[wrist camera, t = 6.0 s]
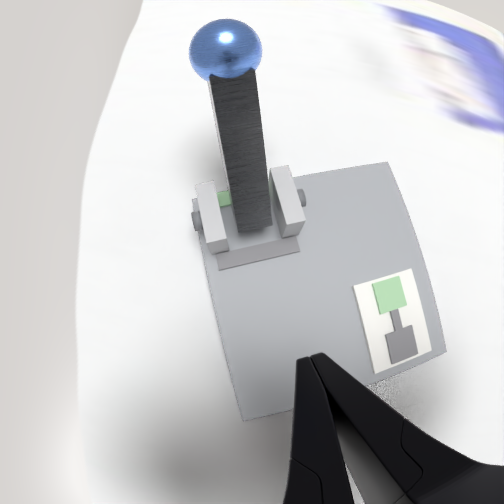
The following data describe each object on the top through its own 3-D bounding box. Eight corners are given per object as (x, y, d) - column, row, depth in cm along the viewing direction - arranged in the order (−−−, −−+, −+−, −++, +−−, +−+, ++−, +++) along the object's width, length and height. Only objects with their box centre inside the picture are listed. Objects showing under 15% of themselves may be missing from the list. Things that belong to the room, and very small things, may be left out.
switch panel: (438, 351, 17) (469, 352, 14) (243, 416, 16) (241, 435, 13) (382, 168, 20) (402, 142, 17) (194, 205, 20) (184, 180, 16)
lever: (286, 227, 16) (265, 14, 9) (228, 240, 16) (183, 26, 9) (271, 196, 18) (249, 15, 11) (220, 207, 18) (182, 26, 11)
